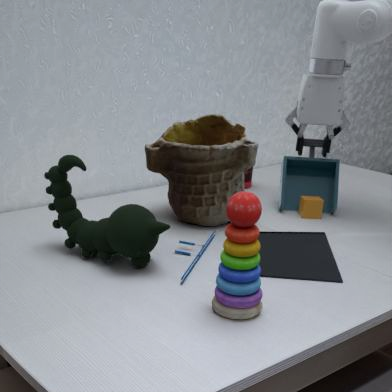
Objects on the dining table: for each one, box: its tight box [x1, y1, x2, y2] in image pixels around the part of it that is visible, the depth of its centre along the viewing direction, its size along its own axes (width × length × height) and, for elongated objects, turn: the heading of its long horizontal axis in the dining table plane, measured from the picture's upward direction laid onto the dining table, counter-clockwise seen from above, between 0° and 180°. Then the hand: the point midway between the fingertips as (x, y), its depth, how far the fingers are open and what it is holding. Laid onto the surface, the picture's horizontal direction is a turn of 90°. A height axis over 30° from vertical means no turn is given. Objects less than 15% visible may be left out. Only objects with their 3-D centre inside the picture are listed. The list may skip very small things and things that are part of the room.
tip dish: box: [277, 137, 341, 215], centre depth 120 cm, size 13×16×6 cm
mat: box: [257, 230, 344, 283], centre depth 105 cm, size 18×34×1 cm, turn 175°
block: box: [297, 196, 324, 220], centre depth 119 cm, size 4×4×4 cm
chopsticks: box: [174, 229, 216, 286], centre depth 97 cm, size 1×25×5 cm
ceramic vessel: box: [144, 113, 260, 227], centre depth 111 cm, size 23×24×25 cm
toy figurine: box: [43, 154, 171, 269], centre depth 90 cm, size 9×19×25 cm
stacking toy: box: [211, 190, 263, 320], centre depth 75 cm, size 8×8×19 cm
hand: (311, 154), depth 120 cm, fingers closed on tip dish, 5 cm apart
